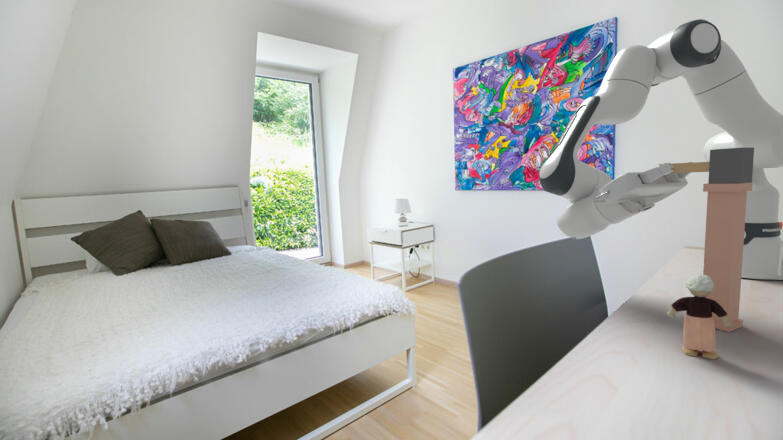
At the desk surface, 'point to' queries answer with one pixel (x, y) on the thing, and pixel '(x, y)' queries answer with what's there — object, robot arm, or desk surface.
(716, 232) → the stand
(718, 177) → the mallet
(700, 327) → the grandmother figurine
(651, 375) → the desk surface
